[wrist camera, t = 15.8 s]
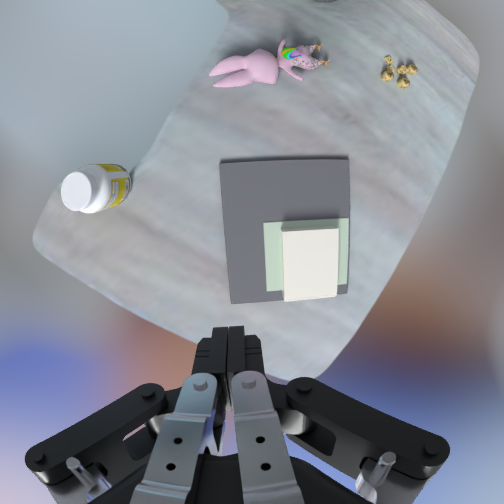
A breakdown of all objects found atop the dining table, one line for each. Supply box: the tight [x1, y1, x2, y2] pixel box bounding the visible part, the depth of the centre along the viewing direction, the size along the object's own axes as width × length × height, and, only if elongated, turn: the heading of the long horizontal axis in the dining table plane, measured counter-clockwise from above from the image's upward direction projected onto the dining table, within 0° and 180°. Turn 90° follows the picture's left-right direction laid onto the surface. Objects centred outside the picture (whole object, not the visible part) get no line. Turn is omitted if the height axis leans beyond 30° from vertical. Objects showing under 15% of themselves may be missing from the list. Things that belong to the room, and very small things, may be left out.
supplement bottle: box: [61, 164, 131, 213], centre depth 29 cm, size 5×5×10 cm
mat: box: [219, 159, 350, 304], centre depth 36 cm, size 18×16×1 cm
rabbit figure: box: [209, 39, 330, 87], centre depth 28 cm, size 6×6×15 cm
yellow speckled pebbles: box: [381, 56, 418, 89], centre depth 30 cm, size 5×5×2 cm
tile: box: [280, 226, 339, 302], centre depth 36 cm, size 7×2×9 cm
